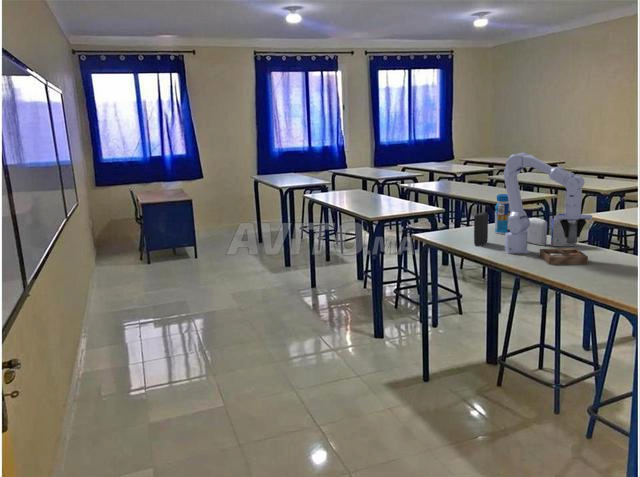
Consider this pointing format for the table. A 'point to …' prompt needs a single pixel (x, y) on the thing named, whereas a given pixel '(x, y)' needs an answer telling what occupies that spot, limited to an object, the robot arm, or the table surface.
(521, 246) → the robot arm
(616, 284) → the table surface
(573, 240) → the plug
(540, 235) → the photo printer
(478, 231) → the black upright block
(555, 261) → the socket board
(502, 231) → the beverage bottle
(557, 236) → the ink cartridge box
